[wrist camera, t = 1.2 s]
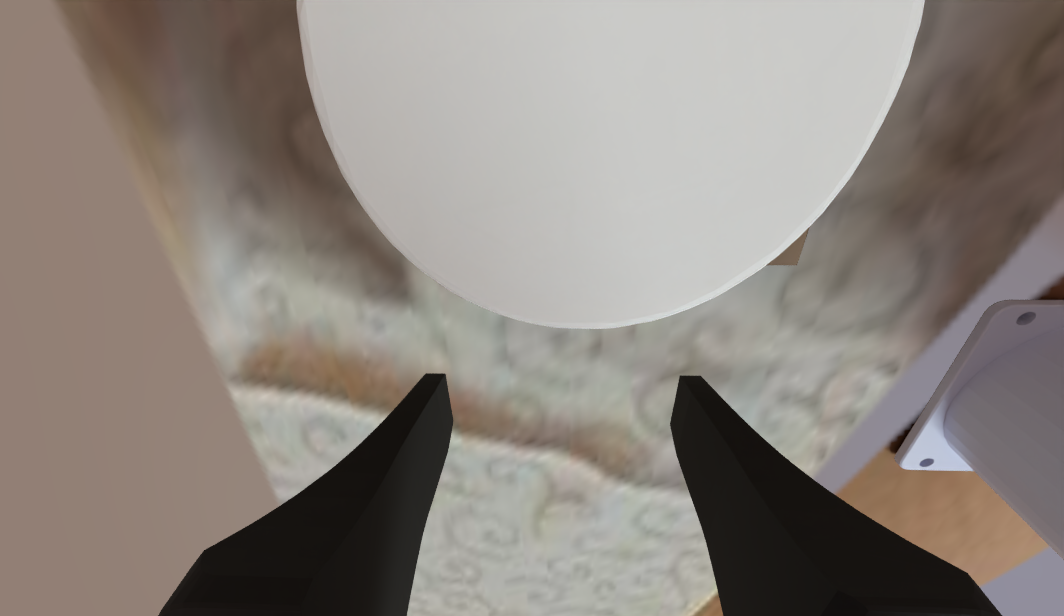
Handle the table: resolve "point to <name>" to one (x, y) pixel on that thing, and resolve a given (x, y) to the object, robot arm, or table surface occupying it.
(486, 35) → the supplement bottle
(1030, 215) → the table surface
